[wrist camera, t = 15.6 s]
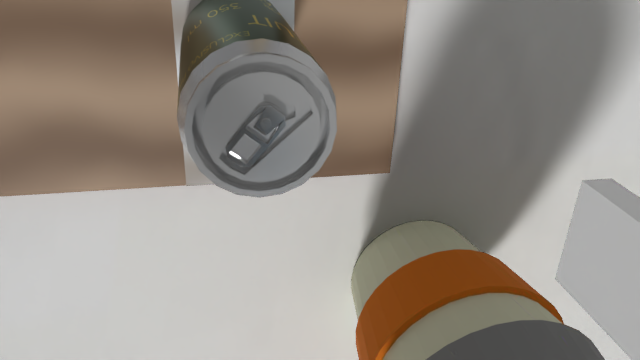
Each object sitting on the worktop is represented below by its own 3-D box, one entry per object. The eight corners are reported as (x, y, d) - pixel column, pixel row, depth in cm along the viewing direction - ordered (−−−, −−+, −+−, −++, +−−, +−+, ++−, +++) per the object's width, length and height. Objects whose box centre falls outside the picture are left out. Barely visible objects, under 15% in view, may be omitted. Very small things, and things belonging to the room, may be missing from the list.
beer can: (245, 113, 30) (274, 229, 20) (159, 51, 28) (141, 146, 17) (308, 34, 29) (376, 114, 19) (224, -38, 27) (248, 8, 16)
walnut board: (382, 162, 35) (390, 174, 34) (-167, 193, 29) (-186, 209, 28) (409, -128, 28) (422, -130, 26) (-311, -165, 22) (-347, -168, 21)
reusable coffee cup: (296, 322, 40) (348, 533, 27) (378, 172, 36) (488, 336, 22) (438, 356, 44) (543, 550, 31) (526, 227, 40) (689, 389, 27)
